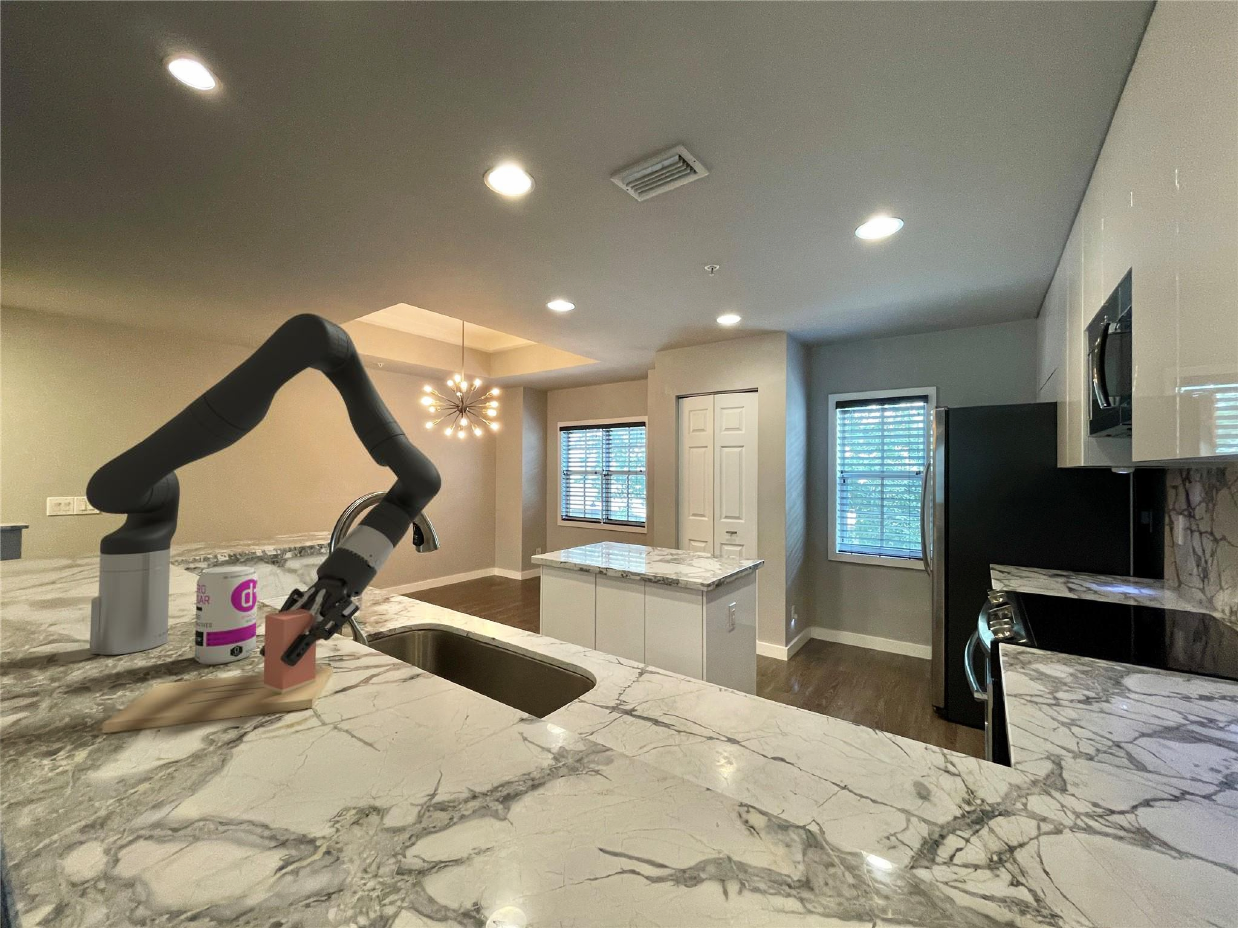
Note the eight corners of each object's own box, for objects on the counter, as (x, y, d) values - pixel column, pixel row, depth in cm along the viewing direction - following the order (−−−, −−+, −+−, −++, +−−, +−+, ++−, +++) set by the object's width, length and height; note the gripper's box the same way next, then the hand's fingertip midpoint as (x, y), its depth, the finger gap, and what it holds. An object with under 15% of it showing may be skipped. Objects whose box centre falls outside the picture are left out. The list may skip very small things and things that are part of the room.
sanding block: (282, 693, 68) (283, 619, 69) (263, 687, 70) (264, 615, 71) (315, 681, 72) (317, 611, 73) (296, 675, 74) (298, 608, 75)
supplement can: (267, 649, 89) (269, 565, 90) (226, 667, 81) (229, 573, 82) (225, 648, 90) (227, 564, 91) (181, 664, 82) (183, 572, 82)
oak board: (102, 733, 60) (102, 722, 60) (158, 692, 71) (158, 683, 71) (312, 707, 67) (312, 698, 67) (332, 674, 78) (332, 666, 78)
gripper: (313, 542, 82) (226, 638, 71) (372, 548, 75) (286, 655, 64) (343, 570, 86) (265, 664, 75) (401, 578, 80) (325, 682, 69)
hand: (276, 659), depth 70 cm, fingers closed on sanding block, 4 cm apart
